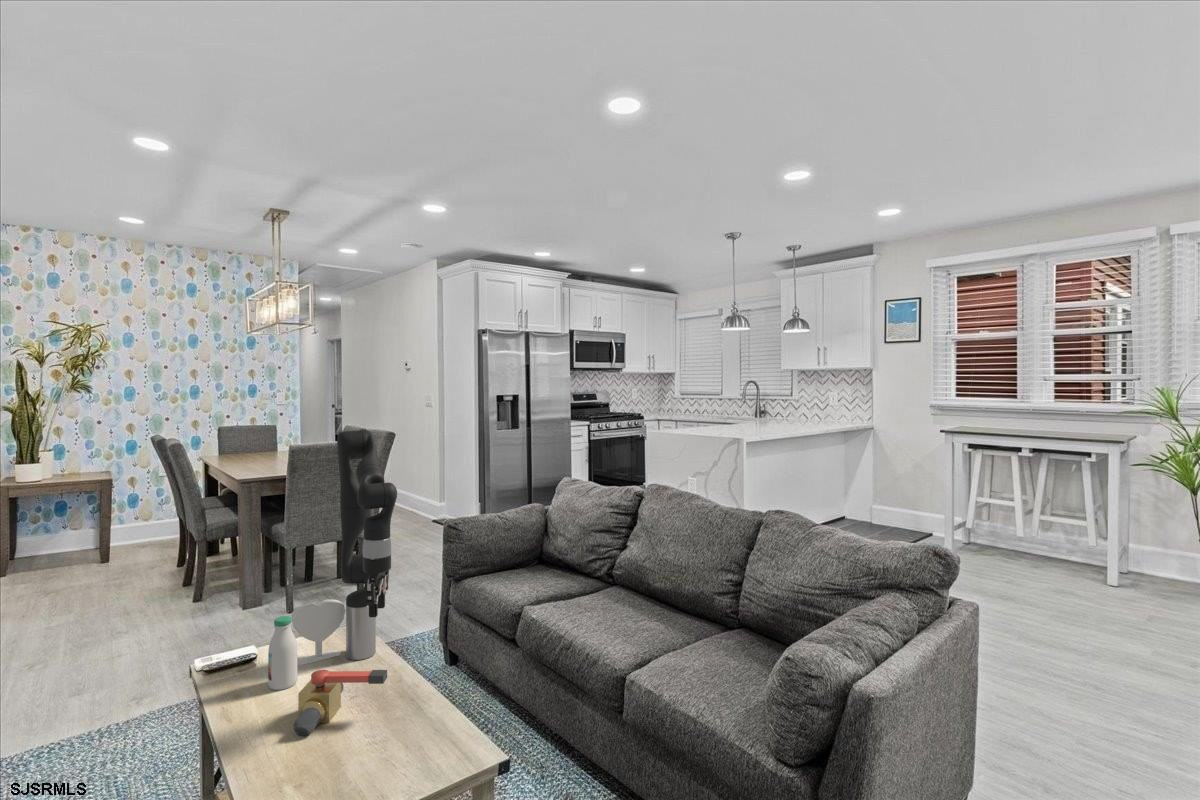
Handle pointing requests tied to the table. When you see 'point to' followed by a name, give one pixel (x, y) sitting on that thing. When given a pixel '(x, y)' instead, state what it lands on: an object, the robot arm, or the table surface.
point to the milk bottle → (282, 656)
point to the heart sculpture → (318, 625)
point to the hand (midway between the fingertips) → (377, 612)
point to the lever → (349, 677)
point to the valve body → (317, 706)
